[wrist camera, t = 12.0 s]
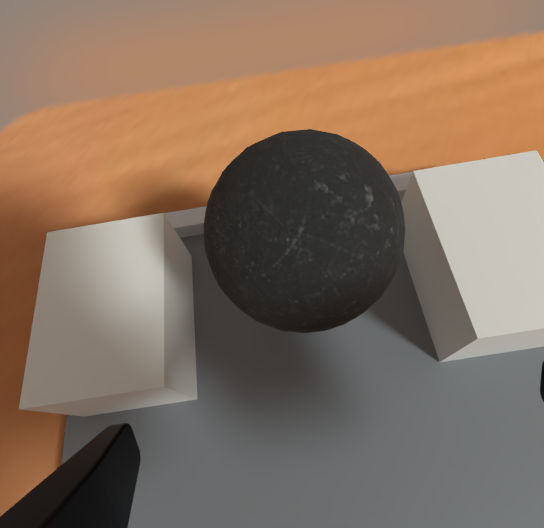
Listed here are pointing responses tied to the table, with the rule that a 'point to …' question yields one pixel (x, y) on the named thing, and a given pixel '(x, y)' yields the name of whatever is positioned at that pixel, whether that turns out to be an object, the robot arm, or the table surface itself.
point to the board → (313, 369)
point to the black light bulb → (304, 231)
